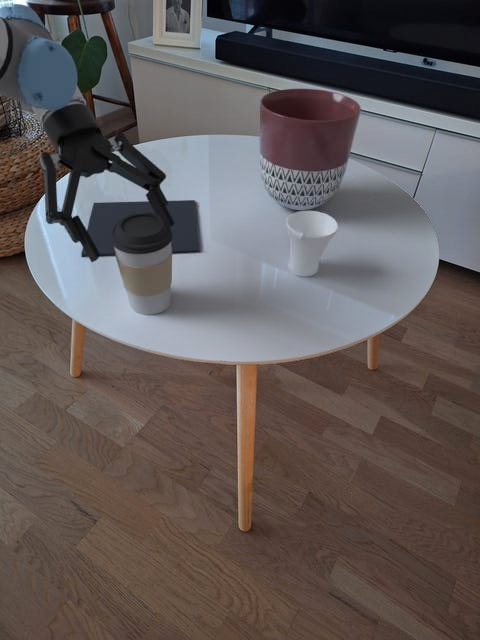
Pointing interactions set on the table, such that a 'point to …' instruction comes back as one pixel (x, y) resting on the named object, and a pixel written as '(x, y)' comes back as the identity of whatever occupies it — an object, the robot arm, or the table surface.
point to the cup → (308, 240)
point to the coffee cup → (144, 261)
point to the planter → (305, 144)
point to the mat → (113, 212)
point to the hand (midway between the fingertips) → (135, 242)
